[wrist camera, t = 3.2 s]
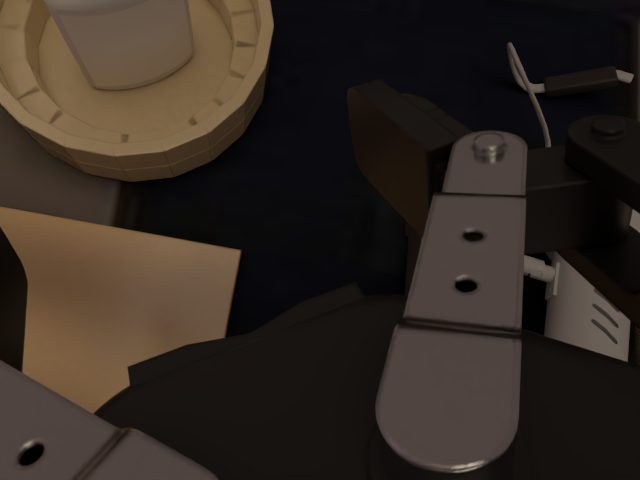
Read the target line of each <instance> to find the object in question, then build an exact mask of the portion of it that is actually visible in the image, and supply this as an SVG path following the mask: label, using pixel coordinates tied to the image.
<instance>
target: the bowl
mask: <svg viewBox="0 0 640 480" xmlns="http://www.w3.org/2000/svg"><path fill="white" fill-rule="evenodd" d="M188 4H189V11H190V18H191V25H192V33H193V40H194V53H193V55H192V57H191V58H190V59H189V60H188V61H187V62H186V63H185V64H184V65H183V66H182V67H180V68H179V69H178V70H176V71H175V72H173V73H172V74H170V75H168V76H167V77H165V78H163V79H161V80H159V81H156V82H154V83H151V84H148V85H145V86H141V87H136V88H131V89H122V90H104V89H99V88H96V87H93V86H92V85H91V84H90V83H89V82H88V81H87V79H86V77H85V76H84V74H83V72H82V70H81V69H80V67H79V65H78V63H77V61H76V60H75V58H74V56H73V54H72V52H71V51H70V49H69V47H68V45H67V43H66V41H65V40H64V38H63V36H62V34H61V32H60V31H59V29H58V27H57V25H56V23H55V21H54V19H53V18H52V16H51V14H50V12H49V10H48V8H47V6H46V4H45V2H44V0H0V104H1V105H2V106H3V107H4V108H5V109H6V110H7V111H8V112H9V113H10V114H11V115H12V116H13V117H14V118H15V119H16V120H17V121H18V122H19V124H20V125H21V126H22V127H23V128H24V129H25V130H26V131H27V132H28V133H29V134H30V135H31V136H32V137H33V138H34V139H35V140H36V141H37V142H38V143H39V144H40V145H41V146H42V147H43V148H44V149H45V150H46V151H47V152H48V153H49V154H51V155H53V156H55V157H56V158H58V159H60V160H62V161H64V162H66V163H68V164H70V165H72V166H73V167H75V168H77V169H79V170H81V171H83V172H85V173H88V174H92V175H97V176H102V177H108V178H113V179H118V180H123V181H131V182H135V181H144V180H153V179H163V178H172V177H176V176H178V175H180V174H183V173H185V172H187V171H190V170H192V169H194V168H197V167H199V166H201V165H204V164H206V163H208V162H211V161H212V160H214V159H215V158H216V157H217V156H219V155H220V154H221V153H222V152H223V151H224V150H225V149H227V148H228V147H229V146H230V145H231V144H232V143H234V142H235V141H236V140H237V139H238V138H239V137H240V136H242V134H243V133H244V132H245V130H246V128H247V127H248V125H249V123H250V122H251V120H252V118H253V116H254V115H255V113H256V111H257V110H258V108H259V106H260V104H261V103H262V100H263V95H264V90H265V85H266V80H267V74H268V69H269V63H270V54H271V46H272V38H273V30H274V22H273V15H272V9H271V2H270V0H188Z"/></svg>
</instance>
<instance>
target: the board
mask: <svg viewBox="0 0 640 480" xmlns="http://www.w3.org/2000/svg"><path fill="white" fill-rule="evenodd" d="M0 227H1V228H2V230H3V232H4V233H5V235H6V237H7V238H8V240H9V242H10V243H11V245H12V247H13V248H14V250H15V252H16V253H17V255H18V257H19V258H20V260H21V262H22V265H23V267H24V270H25V273H26V276H27V281H28V294H27V309H26V324H25V339H24V354H23V370H22V373H24V374H25V375H27V376H29V377H30V378H32V379H34V380H36V381H37V382H39V383H41V384H42V385H44V386H46V387H48V388H49V389H51V390H53V391H55V392H56V393H58V394H60V395H61V396H63V397H65V398H67V399H68V400H70V401H72V402H74V403H75V404H77V405H79V406H80V407H82V408H84V409H86V410H87V411H89V412H91V413H94V412H95V411H96V410H97V409H99V408H100V407H101V406H102V405H103V404H104V403H105V402H107V401H108V400H109V399H110V398H112V397H113V396H114V395H116V394H117V393H119V392H120V391H121V390H123V389H125V388H126V387H128V386H129V385H130V382H129V375H128V366H131V365H133V364H136V363H139V362H141V361H144V360H147V359H150V358H152V357H155V356H158V355H160V354H163V353H166V352H168V351H171V350H174V349H176V348H179V347H182V346H184V345H187V344H193V343H199V342H204V341H210V340H215V339H221V338H226V333H227V327H228V322H229V317H230V312H231V306H232V301H233V296H234V290H235V285H236V280H237V275H238V269H239V264H240V259H241V250H238V249H233V248H227V247H222V246H216V245H211V244H205V243H200V242H194V241H189V240H183V239H178V238H172V237H167V236H161V235H156V234H150V233H145V232H139V231H134V230H128V229H123V228H117V227H112V226H106V225H101V224H95V223H89V222H84V221H78V220H73V219H67V218H62V217H56V216H51V215H45V214H40V213H34V212H29V211H23V210H18V209H12V208H7V207H1V206H0Z"/></svg>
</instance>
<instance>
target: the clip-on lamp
mask: <svg viewBox="0 0 640 480" xmlns="http://www.w3.org/2000/svg"><path fill="white" fill-rule="evenodd" d="M507 50H508V57H509V62H510V66H511V70H512V73H513V75H514V77H515V80H516V82H517V83H518V84H519V85H520V86H521V87H522V88H523V89H524V90H525V91H527V92H528V94H529V96H530V99H531V101H532V103H533V106H534V108H535V110H536V113H537V115H538V118H539V121H540V124H541V126H542V130H543V134H544V139H545V147H550V146H551V141H550V137H549V133H548V128H547V125H546V122H545V120H544V117H543V114H542V111H541V109H540V106H539V104H538V102H537V99H536V97H535V95H534V93H543V92H545V96H546V97H547V98H551V97H557V96H564V95H570V94H577V93H583V92H589V91H596V90H602V89H609V88H615V87H617V86H618V80H620V81H624V82H627V83H630V82H631V80H632V78H633V76H634V74H630V73H626V72H623V71H619V70H616V68H615V67H614V66H611V67H604V68H598V69H592V70H586V71H580V72H574V73H568V74H562V75H556V76H550V77H545V78H544V80H543V83H544V84H532V83H529V81H528V79H527V76H526V74H525V72H524V69H523V67H522V65H521V62H520V60H519V58H518V55H517V53H516V51H515V48H514V46H513V45H512V43H508V46H507ZM513 60H514V61H513ZM514 63H515V65H516V67H517V70H518V72H519V74H520V76H521V77H520V76H519V74H518V72H517V70H516V67H515V65H514ZM630 226H632V227H633V228H634V229H636V230H637V231H638V232H640V214H639V213H638V212H636V211H635V210H634V209H633V211H632V216H631V221H630ZM405 236H406V237H409V238H408V253H407V267H406V281H405V295H409V291H410V287H411V282H412V278H413V274H414V270H415V266H416V262H417V258H418V254H419V250H420V246H421V242H422V238H421V237H420V236H419V235H418V234H417V233H416V231H415V230H414V229H413V228H412V227H411V226H410V225H409V224H408V223H407V222H406V221H405ZM545 253H546V255H547V256H548V258H549V259H550V261H551V266H548V265H545V262H544V261H543V260H539V259H536V258H533V257H530V256H526V255H524V273H523V275H525V276H529V277H532V278H535V279H538V280H541V281H545V282H547V285H546V294H545V300H547V310H546V320H545V330H544V336H547V337H550V338H553V339H556V340H559V341H563V342H566V343H569V344H572V345H575V346H579V347H582V348H585V349H588V350H591V351H594V352H598V353H601V354H604V355H607V356H610V357H614V358H617V359H620V360H623V361H626V362H628V347H629V332H630V320H629V319H628V318H627V317H626V316H625V315H624V314H622V313H621V312H620V311H619V310H618V309H617V308H616V307H615V306H614V305H613V304H612V303H611V302H610V301H608V300H607V299H606V298H605V297H604V296H603V295H602V294H601V293H600V292H599V291H598V290H597V289H595V288H594V287H593V286H592V285H591V284H590V283H589V282H588V281H587V280H586V279H585V278H584V277H583V276H581V275H580V274H579V273H578V272H577V271H576V270H575V269H574V268H573V267H572V266H571V265H570V264H568V263H567V262H566V261H565V260H564V259H563V258H562V257H561V256H560V255H559V254H558V253H557V251H553V252H545Z"/></svg>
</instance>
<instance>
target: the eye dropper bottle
mask: <svg viewBox="0 0 640 480" xmlns="http://www.w3.org/2000/svg"><path fill="white" fill-rule="evenodd" d="M44 2H45V4H46V6H47V8H48V10H49V12H50V14H51V16H52V18H53V19H54V21H55V23H56V25H57V27H58V29H59V31H60V32H61V34H62V36H63V38H64V40H65V41H66V43H67V45H68V47H69V49H70V51H71V52H72V54H73V56H74V58H75V60H76V61H77V63H78V65H79V67H80V69H81V70H82V72H83V74H84V76H85V77H86V79H87V81H88V82H89V83H90V84H91V85H92V86H93V87H96V88H99V89H104V90H122V89H131V88H136V87H141V86H145V85H148V84H151V83H154V82H156V81H159V80H161V79H163V78H165V77H167V76H168V75H170V74H172V73H173V72H175V71H176V70H178V69H179V68H180V67H182V66H183V65H184V64H185V63H186V62H187V61H188V60H189V59H190V58H191V57H192V55H193V53H194V40H193V33H192V25H191V18H190V11H189V4H188V0H44Z"/></svg>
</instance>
